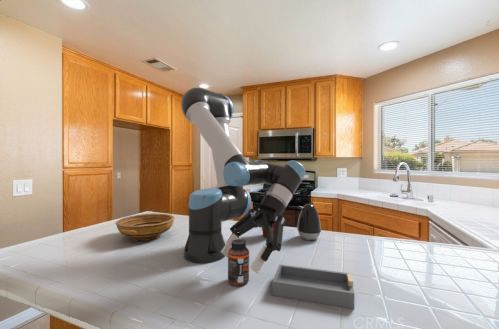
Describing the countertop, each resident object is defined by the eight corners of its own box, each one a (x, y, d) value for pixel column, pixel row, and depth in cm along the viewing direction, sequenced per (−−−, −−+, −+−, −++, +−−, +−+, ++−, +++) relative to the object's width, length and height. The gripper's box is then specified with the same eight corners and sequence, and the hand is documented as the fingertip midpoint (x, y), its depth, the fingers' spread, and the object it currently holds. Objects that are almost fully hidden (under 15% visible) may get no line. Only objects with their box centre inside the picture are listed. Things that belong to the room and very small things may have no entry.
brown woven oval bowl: (153, 250, 91) (153, 229, 91) (96, 246, 94) (96, 226, 94) (185, 228, 120) (185, 213, 120) (141, 226, 124) (141, 211, 124)
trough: (272, 295, 60) (272, 276, 60) (279, 276, 70) (279, 260, 70) (354, 308, 54) (354, 288, 54) (349, 286, 64) (349, 268, 64)
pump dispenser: (294, 235, 110) (294, 202, 110) (316, 234, 111) (316, 201, 111) (300, 242, 100) (300, 206, 99) (324, 241, 100) (324, 205, 100)
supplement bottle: (246, 288, 63) (246, 245, 63) (225, 285, 65) (225, 244, 64) (251, 277, 69) (251, 238, 69) (231, 275, 70) (231, 237, 70)
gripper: (313, 215, 67) (277, 286, 58) (255, 203, 87) (221, 255, 77) (302, 198, 64) (261, 271, 54) (244, 190, 83) (206, 242, 74)
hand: (237, 262), depth 66 cm, fingers open, 13 cm apart
